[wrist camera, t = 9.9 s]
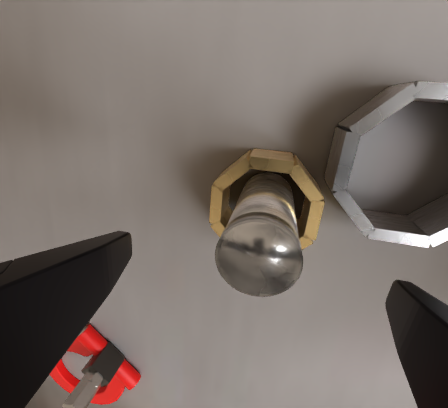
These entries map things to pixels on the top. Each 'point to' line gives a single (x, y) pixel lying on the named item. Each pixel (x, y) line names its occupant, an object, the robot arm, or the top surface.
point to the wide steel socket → (344, 157)
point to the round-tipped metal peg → (261, 239)
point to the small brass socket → (274, 163)
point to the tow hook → (95, 372)
